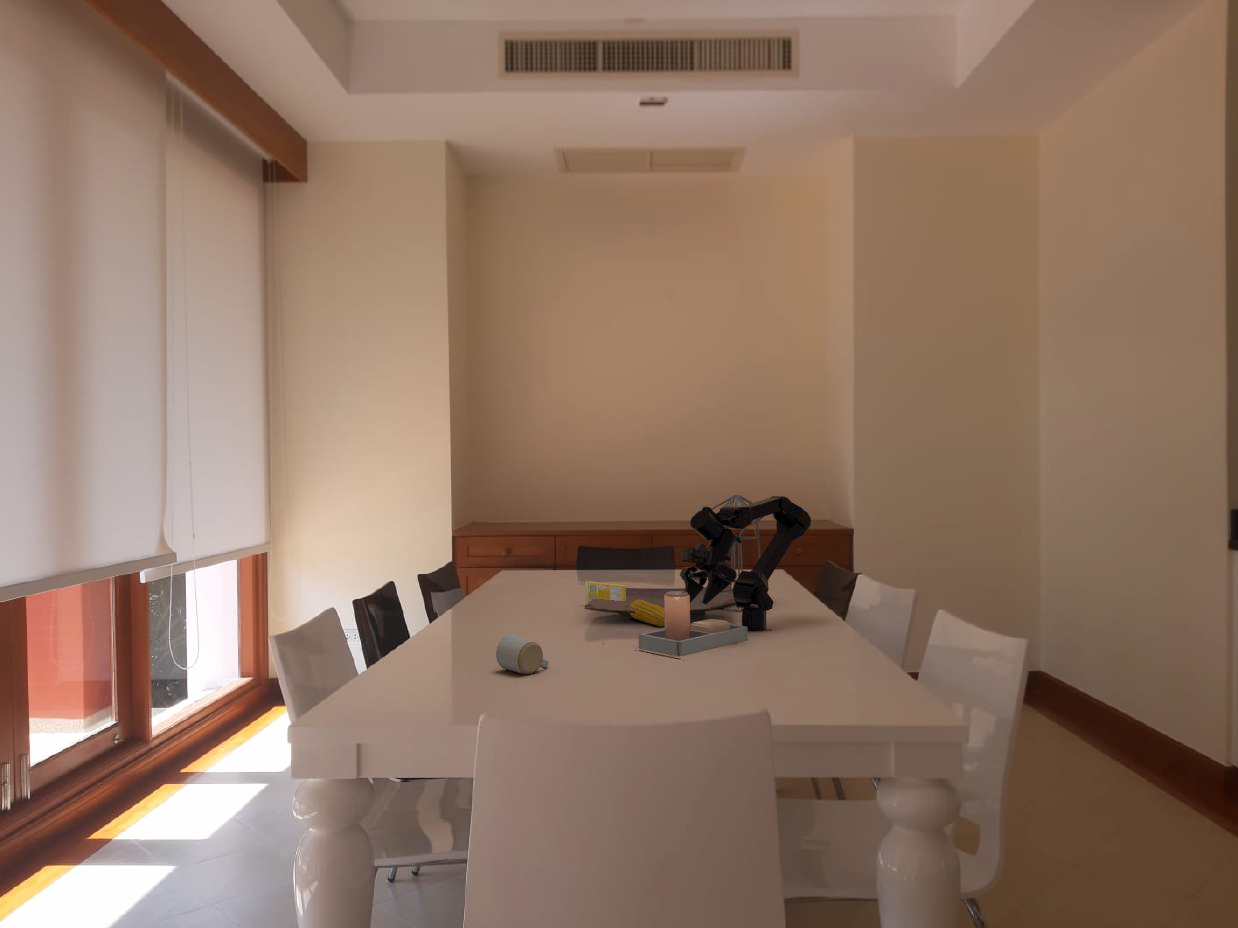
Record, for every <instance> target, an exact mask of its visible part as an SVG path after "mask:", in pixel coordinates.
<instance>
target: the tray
mask: <svg viewBox="0 0 1238 928" xmlns="http://www.w3.org/2000/svg"><path fill="white" fill-rule="evenodd" d="M691 624H693V622H692V623H690V625H691ZM748 632H749V631H747V627H745V626H742V625H738V624H732V623H730V630H726V631H722V632H717V633H708V632H702V631H696V630H690V639H686V640H681V641H676V640H671V639H665V628H664V629H663V628H662V629H660V630H659V629H658V630H653V631H649V632H645V633H644V632H643V633H638V649H639V650H638V652H641V653H646V654H651V655H655V656H661V657H665V658H669V659H674V660H679V661H680V660H681V658H678V657H681V656H687V655H690V654H695V653H699V652H703V651H708V650H712V649H716V648H719V647H724V646H728V645H733V644H737V643H741V642H745V641H748V639H749V638H748V637H749V635H748ZM640 649H643V650H640ZM645 650H646V651H645ZM655 652H657V653H655ZM664 654H665V655H664ZM671 655H672V656H671ZM674 656H676V657H674Z"/></svg>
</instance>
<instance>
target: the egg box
mask: <svg viewBox="0 0 1238 928" xmlns="http://www.w3.org/2000/svg"><path fill="white" fill-rule="evenodd" d="M692 623H693V624H692ZM692 623H690V624H691V625H690V630H696V631H702V632H708V633H717V632H722V631H726V630H730V624H731V622H728V621H727V620H722V619H717V618H707V619H703V620H699V621H694V622H693V621H692Z"/></svg>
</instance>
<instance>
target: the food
mask: <svg viewBox="0 0 1238 928" xmlns="http://www.w3.org/2000/svg"><path fill="white" fill-rule="evenodd" d="M629 607H630V608H631V609H632V610H633V611H635V613H630V612H629V613H630V616H631V617H632V618H634V619H635V620H638V621H641V622H643V623H646V624H649V625H654V626H656V627H659V628H660V627H661V628H665V607H662V606H660V605H658V604H654V603H652V602H650V601H645V600H643V599H635V600H634V601H632V602H631V603H630V605H629Z"/></svg>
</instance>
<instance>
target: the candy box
mask: <svg viewBox="0 0 1238 928" xmlns="http://www.w3.org/2000/svg"><path fill="white" fill-rule="evenodd" d="M584 584H585V585H584V593H585V594H584V606H585V605H586V604H588V603H589V602H591V601H592V599H604V600H615V601H626V602H627V595H626V594H627V585H626V584H625V585H624V584H616V583H605V582H599V581H598V582H597V581H590V580H589V581H585V583H584Z"/></svg>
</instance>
